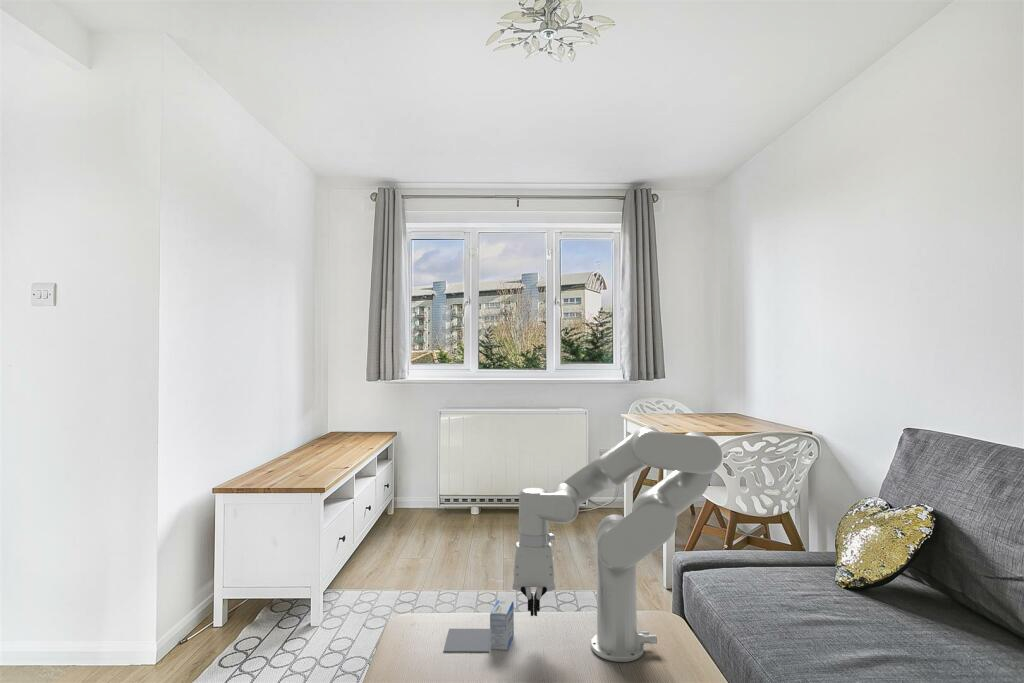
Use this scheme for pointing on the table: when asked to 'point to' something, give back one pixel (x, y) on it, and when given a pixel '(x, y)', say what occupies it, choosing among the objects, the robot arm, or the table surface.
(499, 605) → the medicine box
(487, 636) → the mat
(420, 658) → the table surface
